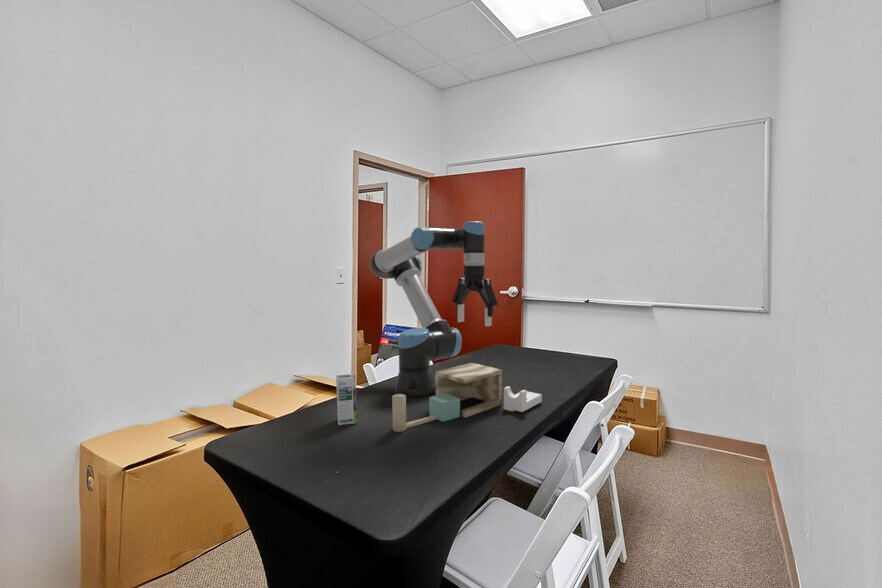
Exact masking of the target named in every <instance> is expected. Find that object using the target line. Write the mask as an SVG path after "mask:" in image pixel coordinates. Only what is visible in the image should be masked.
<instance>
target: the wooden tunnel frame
mask: <svg viewBox="0 0 882 588" xmlns="http://www.w3.org/2000/svg"><path fill="white" fill-rule="evenodd" d="M434 379H435V380H434V381H435V382H434V393H435V395H434V396H437V395H441V394H445V393H447V394H450V395H453V396H455V397H458V398H460V402H462V401H465V400H467V399H471V398H474V399H476V400H480V401H483V402H481V403H479V404H476V405H472V406H470V407H467V408H464V409H461V417H462V418H469V417H471V416H474V415H476V414H479V413H482V412H484V411H489V410H491V409H493V408H495V407H499V406H501V405H503V402H502V401H503V369H499V368H497V367H492V366H489V365H488V366H487V365H483V364H479V363H475V362H469V363H465V364H462V365H457V366H453V367H449V368H444V369H439V370H436V371H435V374H434Z"/></svg>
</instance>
